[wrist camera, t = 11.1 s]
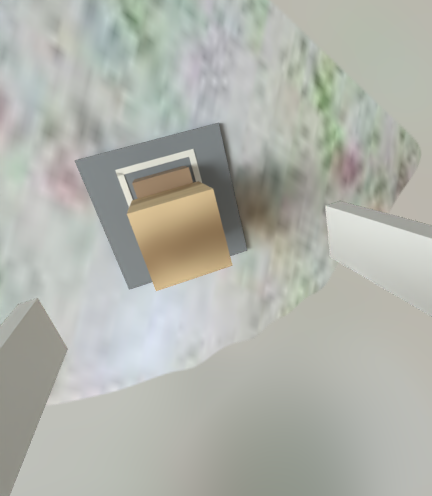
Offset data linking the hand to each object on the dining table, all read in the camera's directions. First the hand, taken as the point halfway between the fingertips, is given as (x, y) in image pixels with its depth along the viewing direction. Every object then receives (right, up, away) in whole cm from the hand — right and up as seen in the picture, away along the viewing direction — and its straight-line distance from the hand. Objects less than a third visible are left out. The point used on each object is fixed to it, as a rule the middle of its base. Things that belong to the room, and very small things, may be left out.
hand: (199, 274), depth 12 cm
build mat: (-4, +5, +17) cm, 18 cm away
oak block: (-3, +4, +13) cm, 14 cm away
